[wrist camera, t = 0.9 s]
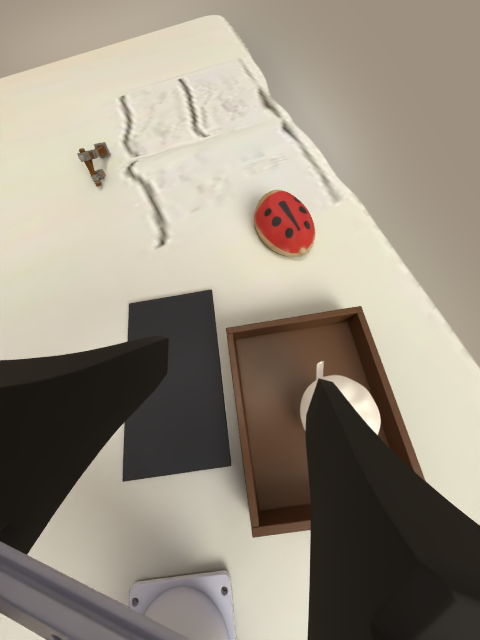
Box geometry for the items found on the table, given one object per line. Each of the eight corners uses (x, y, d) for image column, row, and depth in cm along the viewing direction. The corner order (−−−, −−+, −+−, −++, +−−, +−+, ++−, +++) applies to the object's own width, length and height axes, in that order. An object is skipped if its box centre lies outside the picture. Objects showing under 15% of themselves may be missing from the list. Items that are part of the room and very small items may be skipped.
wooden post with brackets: (90, 188, 33) (70, 151, 30) (108, 175, 39) (93, 142, 36) (102, 186, 33) (83, 149, 30) (118, 173, 39) (104, 140, 36)
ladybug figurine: (286, 196, 31) (289, 171, 27) (328, 247, 27) (337, 226, 24) (242, 216, 30) (240, 193, 27) (280, 271, 27) (283, 252, 24)
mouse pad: (231, 465, 20) (230, 466, 20) (124, 480, 21) (122, 481, 20) (212, 291, 27) (211, 289, 26) (130, 304, 27) (129, 303, 27)
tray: (411, 497, 18) (437, 513, 16) (253, 518, 19) (252, 538, 16) (350, 316, 24) (361, 305, 21) (229, 336, 25) (225, 327, 22)
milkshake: (315, 369, 22) (355, 345, 13) (345, 423, 20) (418, 442, 11) (274, 388, 22) (284, 378, 13) (301, 445, 20) (336, 483, 11)
